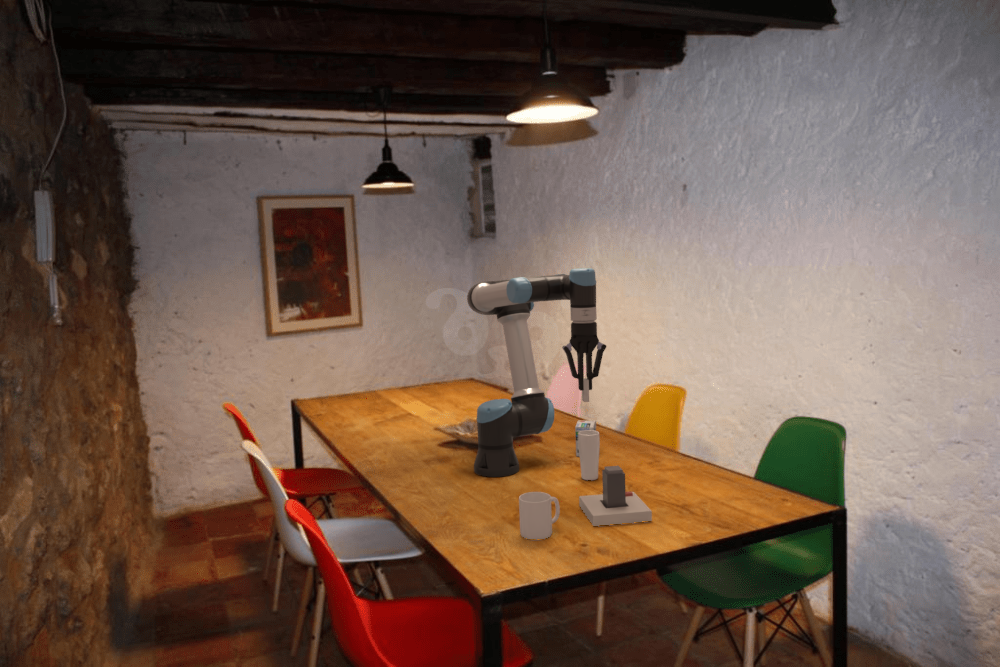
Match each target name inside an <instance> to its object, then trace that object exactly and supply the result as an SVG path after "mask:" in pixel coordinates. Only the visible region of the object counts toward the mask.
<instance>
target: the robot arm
mask: <svg viewBox="0 0 1000 667" xmlns="http://www.w3.org/2000/svg"><path fill="white" fill-rule="evenodd" d="M596 279H597V278H596V271H595V269H593V268H589V267H586V268H585V267H584V268H582V267H580V268H571V269H570V270H569V274H565V273H560V274H558V273H557V274H554V275H541V276H525V277H524V276H518V277H513V278H510V279H504V280H492V281H491V280H490V281H489V280H488V281H487V280H486V281H481V282H478V283H475V284H474V285H472V286H471V287H470V288H469V290H468V292H467V296H466V298H467V300H466V301H467V303H468V304H467V305H468V306H469V308H470V309H471V310H472V311H474V312H475V313H476V314H480V315H485V316H492V315H493V316H494V315H496V320H497V322H499V323H500V324H501V325H502V329H503V334H504V335H503V336H504V340H505V345H506V352H507V356H508V357H507V358H508V364H509V368H510V377H511V380H512V387H513V394H512V395H511V397H510V399H508V398H499V399H497V398H496V399H491V400H487V401H484V402H482V403H481V404H479V406H478V407H477V410H476V426H477V427H476V429H477V445H478V446H477V447H478V448H477V453H476V456H475V459H474V464H473V472H474V473H475V474H477V475H478V476H481V475H482V476H481V477H486V476H487V478H497V477H498V478H500V477H506V476H511V475H514V474H516V473H518V472H519V471H520V463H519V460H518V457H517V454H516V451H515V449H514V438H518V437H525V436H532V435H539V434H541V433H546V432H548V431H550V430H551V428H552V426H553V424H554V422H555V407H554V404H553V402H552V400H551V399H550V398H549V397H547V396H546V394H545V392H544V390H542V389H541V388H540V386H539V381H538V376H537V369H536V365H535V359H534V354H533V348H532V341H531V336H530V331H529V326H528V325H529V324H528V319H529V318H530V317H531V311H532V310H533V309H534V307H535V303H538V302H551V301H552V302H553V301H566V300H567V301H570V304H569V306H570V307H569V308H570V321H572V322H571V324H570V339H569V343H567V344H566V345H563V346H562V350H563V351H564V353H565V355H566V358H567V362H568V366H569V369H570V372H571V376H572V378H574V379H577V380H578V381H577V382H578V385H577V386H578V390H579V391H581V401H582V402H584V403H589V402H590V391H592V390H593V379H594V378H597V377H599V374H600V370H601V365H602V358H603V354H604V352H605V350H606V349H607V345H606V344H605V343H602V342H601V341H600V339H599V338H598V323H597V321H596V320H597V280H596ZM572 348H573V349H572ZM595 349H597V350H596V354H595V359H594V364H593V352H594V350H595ZM573 350H574V351H575V352H576V357H577V358H576V359H577V368H576V365H575V360H574V358H573V357H574V356H573V354H572V351H573ZM584 356H585V367H586V368H585V370H586V372H585V371H584ZM584 372H585V373H586V375H585V376H586V378H584V377H585V376H584V374H585V373H584Z"/></svg>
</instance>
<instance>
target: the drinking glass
mask: <svg viewBox="0 0 1000 667" xmlns="http://www.w3.org/2000/svg"><path fill="white" fill-rule="evenodd" d="M600 440H601V439H600V432H599V431H598V430H596V431H594V430H584V431H580V432H578V447H579V456H578V457H579V460H580V461H579V464H580V474H581V479H582V480H584V481H588V480H591V481H595V480H597V479H598V478H599V465H600V463H599V461H600V446H601V445H600Z"/></svg>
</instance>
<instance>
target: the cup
mask: <svg viewBox="0 0 1000 667" xmlns="http://www.w3.org/2000/svg"><path fill="white" fill-rule="evenodd" d="M552 502H554V505H555V514H554V516H553V517H552V515H553V514H552ZM518 508H519V509H518V510H519V512H518V513H519V533H520V536H521V538H523V537H524V538H523V539H525V538H527V539H536V540H535V541H538V540H537V539H544V540H546V539H545V538H547V539H548V537H549V538H550V537H551V536H552V533H553V524H554V523H556V522H557V521H558V519H559V517H560V514H561V513H560V510H561V508H560V502H559V499H558V498H557V497H555V496H551V494H550V493H546V492H543V491H529V492H525V493H522V494H520V495H519V497H518ZM527 539H526V540H527Z"/></svg>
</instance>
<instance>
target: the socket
mask: <svg viewBox="0 0 1000 667" xmlns="http://www.w3.org/2000/svg"><path fill="white" fill-rule="evenodd" d="M625 496H626V507H616V508H605V507H604V505H603V493H601V494H588V495H580V496H578V498H579V499H578V501H579V504H578V505H579V508H580V507H581V508H580V510H581V511H582V510H583V511H582V513H583V514H584V513H585V514H584V516H585V517H586V516H587V517H586V518H587V520H588V519H589V520H590V521H589V520H588V521H589V522H591V523H592V524H591V523H590V524H591V526H592V525H593V526H598V527H600V526H599V525H609V526H611V525H610V524H621V525H623V524H622V523H632V524H635V523H634V522H642V521H652V522H653V513H652V512H653V511H652V510H651V508H649V507H648V505H647V504H646V503H645V502H644V501H643V500H642V499H641V498H640V497H639V496H638V494H636V492H634V491H631V490H630V491H625ZM593 526H592V527H593Z"/></svg>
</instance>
